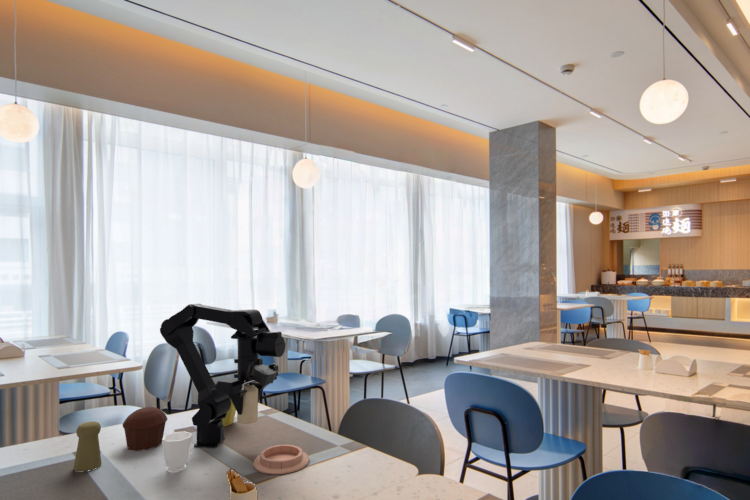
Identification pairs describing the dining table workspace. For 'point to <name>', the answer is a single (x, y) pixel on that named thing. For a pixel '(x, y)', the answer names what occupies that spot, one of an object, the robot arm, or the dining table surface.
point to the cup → (177, 450)
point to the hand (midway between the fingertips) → (247, 411)
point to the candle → (249, 406)
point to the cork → (88, 447)
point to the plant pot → (229, 416)
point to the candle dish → (281, 460)
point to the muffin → (144, 428)
